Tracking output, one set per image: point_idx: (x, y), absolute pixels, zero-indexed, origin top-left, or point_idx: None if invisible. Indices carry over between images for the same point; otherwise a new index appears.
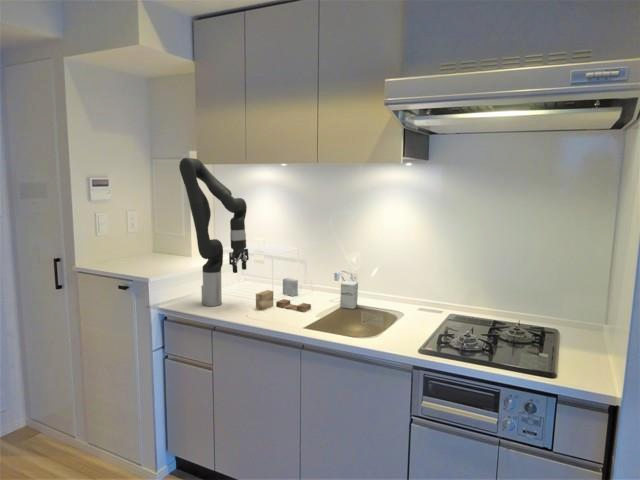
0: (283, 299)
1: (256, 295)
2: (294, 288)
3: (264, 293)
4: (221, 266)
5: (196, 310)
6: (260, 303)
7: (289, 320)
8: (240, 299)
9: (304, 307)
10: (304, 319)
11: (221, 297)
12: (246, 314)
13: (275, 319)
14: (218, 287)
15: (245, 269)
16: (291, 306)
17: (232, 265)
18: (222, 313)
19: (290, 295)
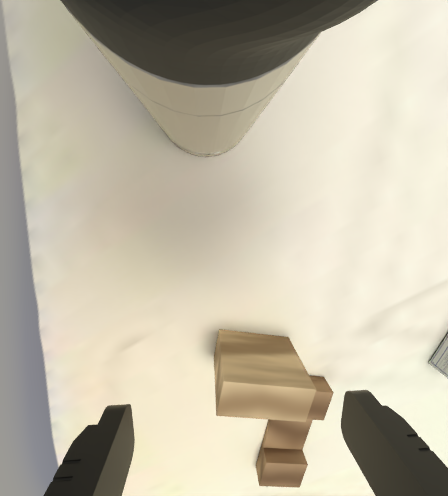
0: (327, 396)
1: (221, 378)
2: None
3: (246, 411)
4: (291, 40)
5: (67, 94)
6: (216, 370)
7: (158, 467)
8: (329, 195)
9: (260, 484)
10: (188, 492)
11: (230, 146)
12: (142, 333)
13: (145, 434)
14: (189, 136)
15: (344, 429)
16: (289, 422)
17: None
18: (101, 244)
19: (435, 353)
